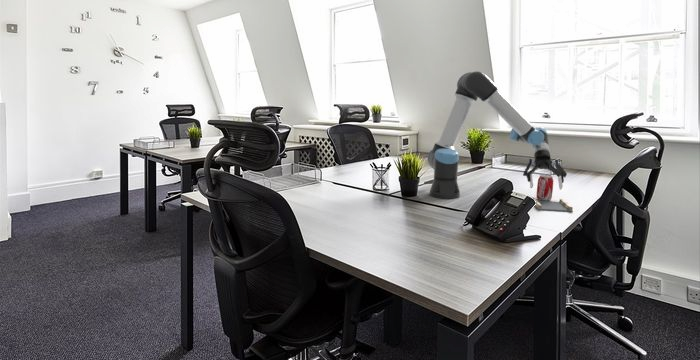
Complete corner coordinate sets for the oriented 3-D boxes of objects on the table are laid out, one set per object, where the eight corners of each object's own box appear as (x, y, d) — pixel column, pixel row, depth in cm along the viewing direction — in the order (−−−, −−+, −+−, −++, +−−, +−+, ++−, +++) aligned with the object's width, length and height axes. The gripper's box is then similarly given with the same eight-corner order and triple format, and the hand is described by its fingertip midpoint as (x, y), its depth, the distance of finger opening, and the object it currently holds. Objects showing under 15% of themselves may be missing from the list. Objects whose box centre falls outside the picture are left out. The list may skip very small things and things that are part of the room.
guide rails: (531, 200, 204) (531, 197, 204) (562, 202, 201) (562, 198, 201) (538, 208, 189) (539, 205, 189) (572, 210, 186) (572, 207, 186)
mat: (530, 201, 204) (530, 200, 204) (562, 203, 202) (562, 202, 201) (538, 210, 189) (538, 208, 189) (572, 212, 186) (572, 210, 186)
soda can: (553, 201, 204) (555, 177, 202) (537, 201, 206) (540, 177, 203) (549, 198, 211) (551, 175, 209) (534, 197, 213) (536, 174, 210)
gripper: (565, 158, 219) (571, 192, 208) (515, 156, 224) (518, 190, 213) (569, 149, 213) (576, 184, 202) (518, 148, 218) (521, 182, 207)
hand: (546, 187), depth 207 cm, fingers open, 13 cm apart
